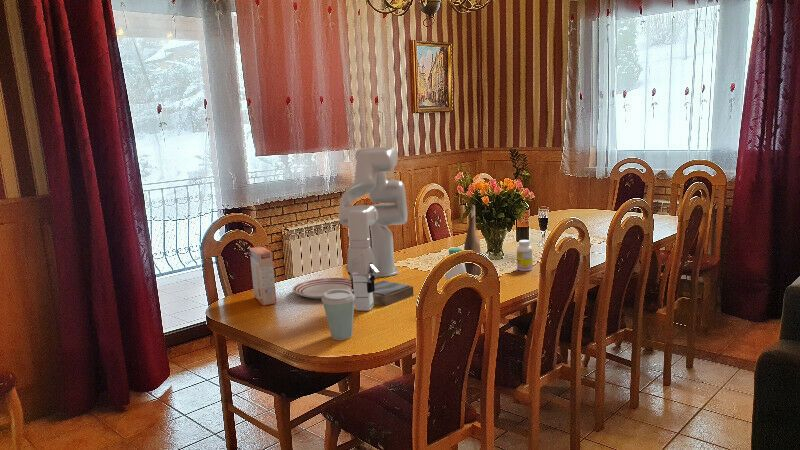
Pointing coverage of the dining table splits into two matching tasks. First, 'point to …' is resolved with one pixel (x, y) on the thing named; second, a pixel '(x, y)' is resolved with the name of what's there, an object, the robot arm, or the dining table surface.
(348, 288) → the dinner plate
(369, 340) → the dining table surface
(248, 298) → the dining table surface
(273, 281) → the cracker box
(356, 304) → the syrup box
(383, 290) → the podium
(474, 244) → the grey vase
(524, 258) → the supplement bottle
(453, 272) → the milk bottle
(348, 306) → the disposable coffee cup
